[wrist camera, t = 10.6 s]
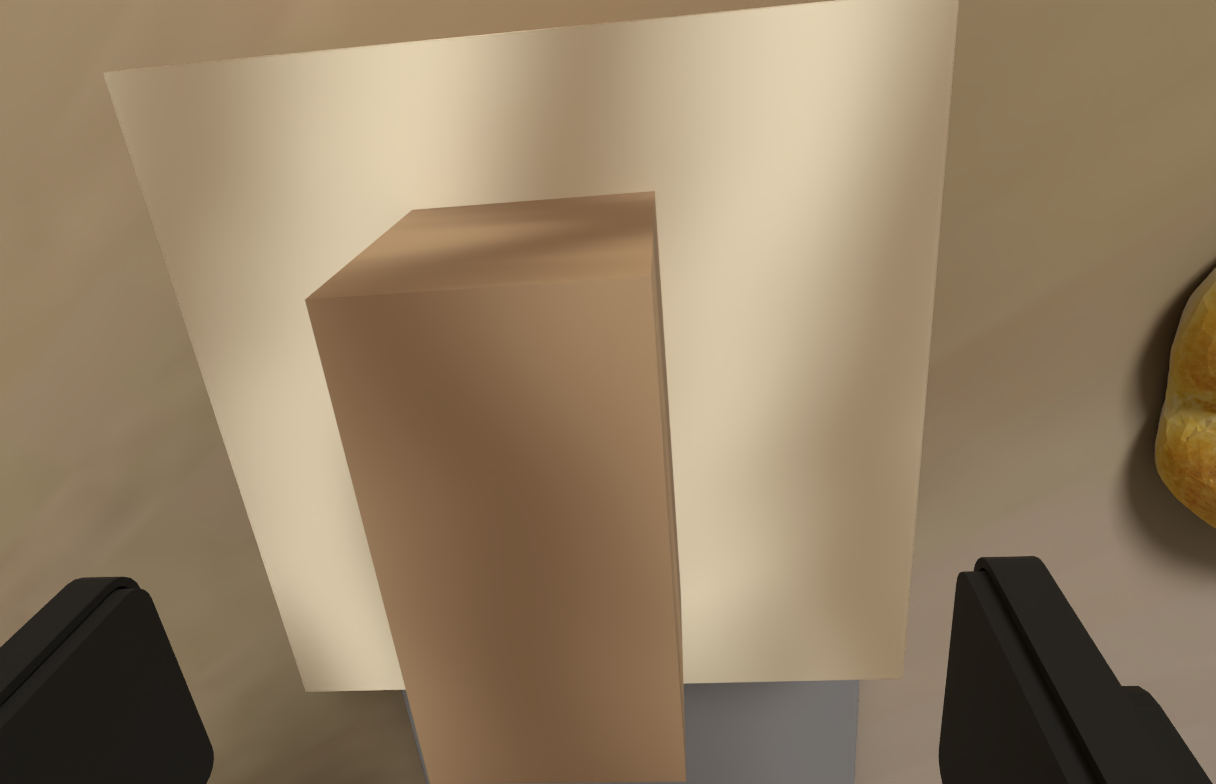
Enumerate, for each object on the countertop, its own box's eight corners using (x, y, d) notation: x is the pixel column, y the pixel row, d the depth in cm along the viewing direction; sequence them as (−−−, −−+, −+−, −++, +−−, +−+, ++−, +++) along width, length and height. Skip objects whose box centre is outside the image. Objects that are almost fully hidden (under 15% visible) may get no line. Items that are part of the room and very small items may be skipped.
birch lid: (938, -10, 13) (1115, -16, 8) (890, 644, 18) (976, 887, 13) (139, 68, 14) (-155, 106, 9) (322, 659, 19) (205, 887, 14)
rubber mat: (863, 499, 22) (867, 509, 22) (847, 843, 28) (850, 857, 28) (365, 521, 24) (359, 531, 23) (450, 846, 30) (447, 859, 29)
